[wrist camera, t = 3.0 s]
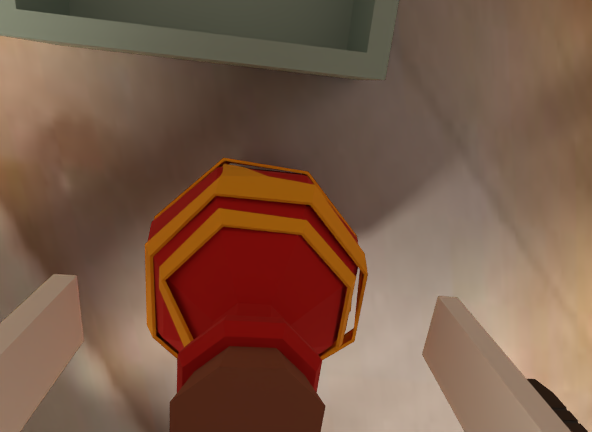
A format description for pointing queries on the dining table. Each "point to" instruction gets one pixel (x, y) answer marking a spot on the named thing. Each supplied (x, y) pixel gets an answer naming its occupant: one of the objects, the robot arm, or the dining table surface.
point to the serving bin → (220, 31)
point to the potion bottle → (251, 297)
